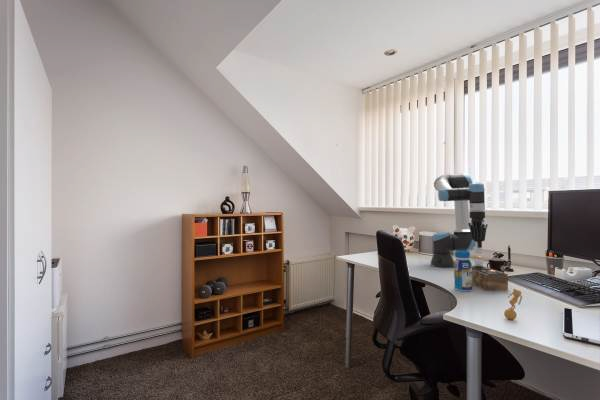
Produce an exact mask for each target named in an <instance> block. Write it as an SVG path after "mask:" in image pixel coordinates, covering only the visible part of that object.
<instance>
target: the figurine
mask: <svg viewBox="0 0 600 400" xmlns="http://www.w3.org/2000/svg"><path fill="white" fill-rule="evenodd" d="M512 295H513V297H512V298H511V299H510V300H509V304H510V305H511V306H510V307H509V308H507V309H505V310H504V312H503V315H504V317H505V318H506V319H507V320H510V321H513V320H515V319H516V318H517V313H516V311H515V309H516V305H515V304H516V303H517V305H521V302H522V299H523V295H522V292H521V290H518V289H516V288H513V290H512V292H511V293H510V294H509V295H508V296H507V299H508V298H510V297H511V296H512ZM518 301H519V302H518Z"/></svg>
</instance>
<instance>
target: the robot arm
mask: <svg viewBox="0 0 600 400" xmlns="http://www.w3.org/2000/svg"><path fill="white" fill-rule="evenodd" d="M484 184H485V183H479V182H478V183H473V179H472V175H470V174H469V173H453V174H449V173H448V174H442V175H441V176H439V177H437V178H436V179H435V180H434V181H433V187H434V189H435V190H436V191H437V199H438V201H439V202H454V215H455V229H454V231H453V233H452V232H450V231H441V232H435V233H434V234H433V235H432V253H433V254H432V257H431V260H430V266H432V265H434V266H433V267H437V266H438V267H439V268H452V267H453V268H454V267H455V265H454V262H455V260H454V259H453V256H452V251H453V252H455V251H457V250H464V251H469V252H471V251H474V250H475V251H474V252H475V254H477V255H480V254H482V252H483V249H482V248H483V244H482V243H483V242H485V240H486V235H487V234H486V233H487V228H488V224H487V223H485V220H484V219H485V218H486V211H485V210H486V203H485V202H486V201H485V200H486V199H485V197H486V196H485V185H484ZM470 219H471V220H470ZM438 267H437V268H438Z"/></svg>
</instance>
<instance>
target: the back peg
mask: <svg viewBox="0 0 600 400" xmlns="http://www.w3.org/2000/svg"><path fill="white" fill-rule="evenodd" d="M473 258H474V266H475V268H477V269H482V268H483V267H484V259H483V258H484V256H480V255H479V256H478V255H476V256H474V257H473Z"/></svg>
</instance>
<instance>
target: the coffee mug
mask: <svg viewBox="0 0 600 400" xmlns="http://www.w3.org/2000/svg"><path fill="white" fill-rule="evenodd" d="M486 267H487V268H490V269H493V270H497V271H500V272H503V273H505V267H506V259H504V258H499V257H490V258H488V262H487V264H486Z"/></svg>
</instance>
